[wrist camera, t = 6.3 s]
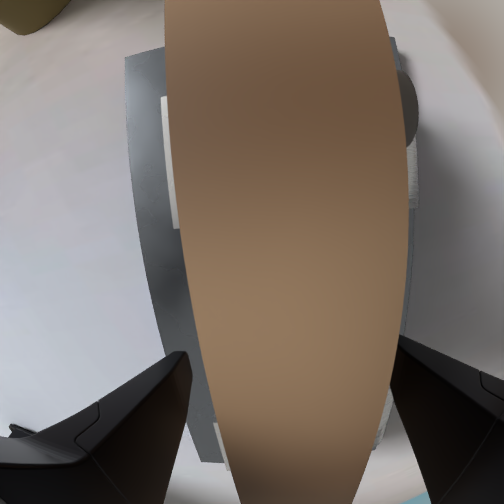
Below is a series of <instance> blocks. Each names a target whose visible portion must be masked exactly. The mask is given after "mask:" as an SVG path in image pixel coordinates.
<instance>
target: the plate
mask: <svg viewBox="0 0 504 504" xmlns="http://www.w3.org/2000/svg"><path fill="white" fill-rule="evenodd" d="M389 38H390V42H391V47H392V51H393V56H394V61H395V66H396V70H401V65H400V60H399V55H398V51H397V46H396V42H395V38H394V37H389ZM401 71H402V70H401ZM125 100H126V122H127V137H128V150H129V161H130V171H131V180H132V189H133V197H134V204H135V212H136V218H137V225H138V231H139V238H140V243H141V249H142V255H143V260H144V266H145V271H146V276H147V281H148V285H149V290H150V295H151V299H152V304H153V308H154V312H155V317H156V321H157V325H158V329H159V333H160V337H161V341H162V344H163V348H164V352H165V355H166V356H167V355H169V354H170V353H172V352H173V351H186V352H187V353H188V356H189V360H190V364H191V368H192V373H193V380H192V386H191V393H190V400H189V407H188V414H187V419H186V422H187V425H188V428H189V431H190V434H191V436H192V439H193V442H194V444H195V447H196V450H197V452H198V455H199V457H200V460H201V462H213V463H225V466H226V469H227V471H231V470H230V466H229V463H228V459H227V456H226V452H225V449H224V445H223V441H222V438H221V434H220V430H219V426H218V422H217V419H216V415H215V411H214V407H213V402H212V398H211V394H210V390H209V386H208V381H207V377H206V372H205V368H204V363H203V359H202V354H201V349H200V344H199V339H198V334H197V329H196V324H195V319H194V314H193V308H192V303H191V297H190V291H189V285H188V280H187V273H186V267H185V261H184V254H183V248H182V241H181V234H180V227H179V219H178V211H177V203H176V195H175V186H174V177H173V168H172V157H171V147H170V135H169V122H168V107H167V90H166V68H165V47H162V48H158V49H154V50H150V51H146V52H142V53H139V54H135V55H132V56H129V57H125ZM406 149H407V164H408V188H409V229H408V254H407V269H406V282H405V292H404V301H403V310H402V317H401V325H400V331H399V334H400V335H403V336H404V329H405V323H406V316H407V308H408V300H409V291H410V282H411V270H412V256H413V236H414V208H417V207H419V188H418V163H417V148H416V136H415V137H414V139H413V141H412V143H411V144H410V145H409V146H408V147H407V148H406ZM393 400H394V399H393V396H392V392H391V389H390V385H389V389H388V393H387V398H386V402H385V406H384V409H383V413H382V417H381V421H380V424H379V428H378V431H377V434H376V438H375V441H374V444H373V447H372V450H375V449H376V446H377V445H378V444H379V443H380V442H381V440H382V437H383V434H384V431H385V428H386V425H387V421H388V418H389V415H390V411H391V408H392V404H393Z"/></svg>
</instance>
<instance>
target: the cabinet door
mask: <svg viewBox="0 0 504 504" xmlns="http://www.w3.org/2000/svg"><path fill="white" fill-rule="evenodd" d="M165 68H166V90H167V107H168V122H169V135H170V147H171V157H172V168H173V177H174V186H175V195H176V203H177V211H178V219H179V227H180V234H181V241H182V248H183V254H184V261H185V267H186V273H187V280H188V285H189V291H190V297H191V303H192V308H193V314H194V319H195V324H196V329H197V334H198V339H199V344H200V349H201V354H202V359H203V363H204V368H205V372H206V377H207V381H208V386H209V390H210V394H211V398H212V402H213V407H214V411H215V415H216V419H217V422H218V426H219V430H220V434H221V438H222V441H223V445H224V449H225V452H226V456H227V459H228V463H229V466H230V470H231V473H232V477H233V480H234V483H235V486H236V490H237V493H238V496H239V499H240V502H241V504H352V502H353V499H354V497H355V494H356V492H357V489H358V487H359V484H360V482H361V479H362V476H363V474H364V471H365V468H366V465H367V462H368V459H369V457H370V454H371V451H372V447H373V444H374V441H375V438H376V434H377V431H378V428H379V424H380V421H381V417H382V413H383V409H384V406H385V402H386V398H387V393H388V389H389V385H390V380H391V375H392V371H393V366H394V361H395V355H396V350H397V344H398V338H399V331H400V325H401V317H402V310H403V301H404V292H405V282H406V269H407V254H408V229H409V188H408V164H407V149H406V148H407V147H408V146H409V145H410V144H411V143H412V141H413V139H414V137H415V134H416V131H417V126H418V115H419V112H418V100H417V95H416V92H415V88H414V86H413V84H412V81H411V80H410V78H409V77H408V75H407V74H406V73H404V72H403V71H401V70H396V66H395V61H394V56H393V51H392V47H391V42H390V38H389V34H388V30H387V26H386V22H385V19H384V15H383V12H382V8H381V5H380V1H379V0H165Z"/></svg>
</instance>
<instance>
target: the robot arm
mask: <svg viewBox="0 0 504 504" xmlns="http://www.w3.org/2000/svg"><path fill="white" fill-rule="evenodd" d="M192 380H193V373H192V368H191V364H190V360H189V356H188V353H187V352H186V351H173V352H172V353H170V354H169V355H167V356H166V357H164V358H163V359H161V360H160V361H158V362H157V363H155V364H154V365H152V366H151V367H149V368H148V369H146V370H145V371H143V372H142V373H140V374H139V375H137V376H135V377H134V378H132V379H131V380H129V381H128V382H126V383H125V384H123V385H122V386H120V387H118V388H117V389H115V390H114V391H112V392H111V393H109V394H107V395H106V396H104V397H103V398H101V399H100V400H98V401H96V402H95V403H93V404H92V405H90V406H88V407H87V408H85V409H83V410H82V411H80V412H78V413H76V414H75V415H73V416H71V417H69V418H67V419H65V420H63V421H61V422H59V423H57V424H55V425H53V426H50V427H48V428H46V429H44V430H42V431H40V432H38V433H36V434H34V433H31V432H29V431H27V430H24V429H22V428H20V427H17V426H15V425H13V424H10V425H9V428H10V430H11V431H12V433H11V434H10V436H9V437H8V438H7V437H2V436H0V504H163V503H164V500H165V496H166V492H167V488H168V485H169V481H170V477H171V474H172V470H173V466H174V463H175V459H176V455H177V452H178V448H179V444H180V441H181V437H182V434H183V430H184V426H185V423H186V419H187V414H188V407H189V400H190V393H191V386H192ZM390 389H391V392H392V396H393V399H394V402H395V405H396V408H397V410H398V413H399V415H400V418H401V420H402V423H403V425H404V428H405V430H406V433H407V435H408V438H409V441H410V443H411V446H412V449H413V451H414V454H415V457H416V459H417V462H418V465H419V468H420V471H421V474H422V477H423V479H424V482H425V485H426V488H427V491H428V494H429V498H430V501H431V504H504V380H501V379H499V378H496V377H494V376H492V375H489V374H487V373H485V372H483V371H480V372H479V370H478V369H476V368H473V367H471V366H469V365H467V364H464V363H462V362H460V361H458V360H456V359H453V358H451V357H449V356H447V355H444V354H442V353H440V352H438V351H436V350H433V349H431V348H429V347H427V346H424V345H422V344H420V343H418V342H416V341H413V340H411V339H409V338H407V337H405V336H403V335H400V334H399V338H398V344H397V350H396V355H395V361H394V366H393V371H392V375H391V380H390Z"/></svg>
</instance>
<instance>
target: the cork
mask: <svg viewBox="0 0 504 504" xmlns="http://www.w3.org/2000/svg"><path fill="white" fill-rule="evenodd" d="M70 1H71V0H0V24H2V25H3V26H5V27H6V28H8V29H9V30H11V31H13V32H14V33H16V34H17V35H27V34H30V33H33V32H35V31H37V30H38V29H40V28H42V27H43V26H45V25H46V24H47V23H49V22H50V21H51V20H52V19H53V18H54V17H55V16H57V15H58V14H59V13H60V12H61V11H62V9H63V8H64V7H65V6H66V5H67V4H68V3H69V2H70Z"/></svg>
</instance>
